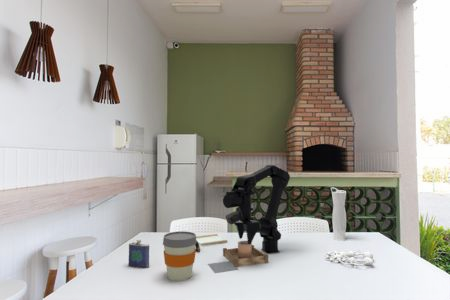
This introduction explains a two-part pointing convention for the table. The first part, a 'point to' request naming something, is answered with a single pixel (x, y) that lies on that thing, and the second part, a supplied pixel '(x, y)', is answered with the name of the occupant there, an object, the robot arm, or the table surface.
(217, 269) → the slate mat
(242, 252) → the terracotta pot
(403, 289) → the table surface
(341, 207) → the white water bottle
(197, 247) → the brown creature figurine
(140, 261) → the flask
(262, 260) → the brown wooden tray
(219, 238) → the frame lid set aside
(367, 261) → the tangled rod sculpture
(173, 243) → the reusable coffee cup
